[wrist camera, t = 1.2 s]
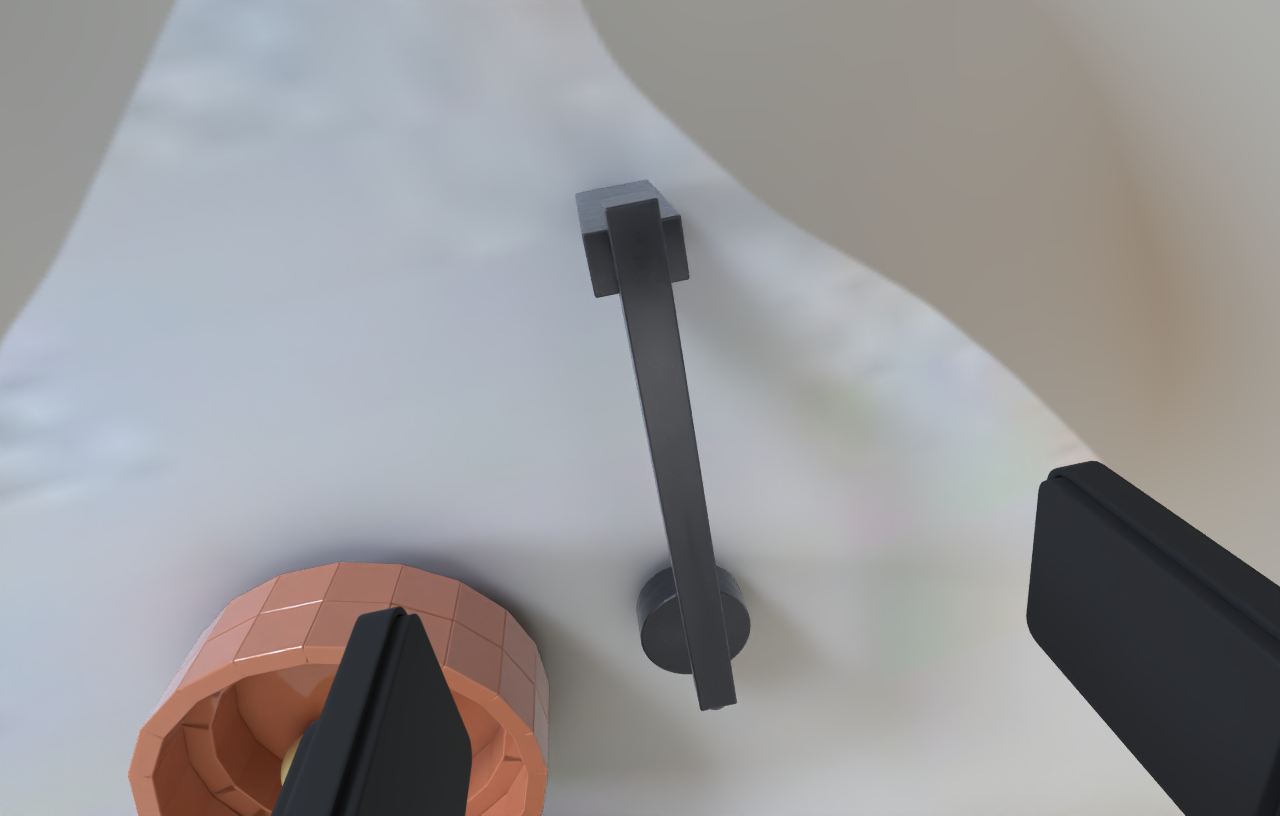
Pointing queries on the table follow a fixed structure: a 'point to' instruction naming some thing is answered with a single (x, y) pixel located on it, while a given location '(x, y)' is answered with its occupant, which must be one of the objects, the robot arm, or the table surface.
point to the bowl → (301, 680)
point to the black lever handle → (666, 437)
